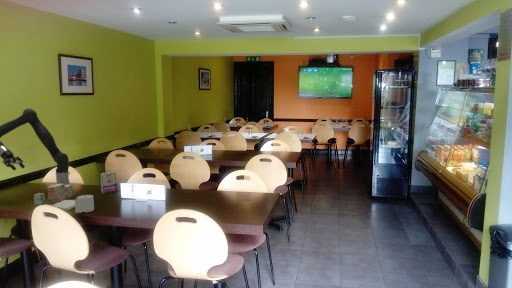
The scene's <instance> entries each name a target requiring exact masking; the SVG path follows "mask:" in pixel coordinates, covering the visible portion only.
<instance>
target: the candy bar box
mask: <svg viewBox="0 0 512 288" xmlns="http://www.w3.org/2000/svg"><path fill="white" fill-rule="evenodd" d="M99 175H100V188H101V189H100V191H101V194H109V193H115V192H116V193H117V179H116V172H115V171H108V172H102V173H99Z"/></svg>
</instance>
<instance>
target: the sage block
mask: <svg viewBox="0 0 512 288" xmlns="http://www.w3.org/2000/svg"><path fill="white" fill-rule="evenodd" d="M33 202H34V203H33V204H34V206H38V205H41V204H43V205H46V197H45V193H43V192H41V193H40V192H37V193H35V194H33ZM41 206H42V205H41Z"/></svg>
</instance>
